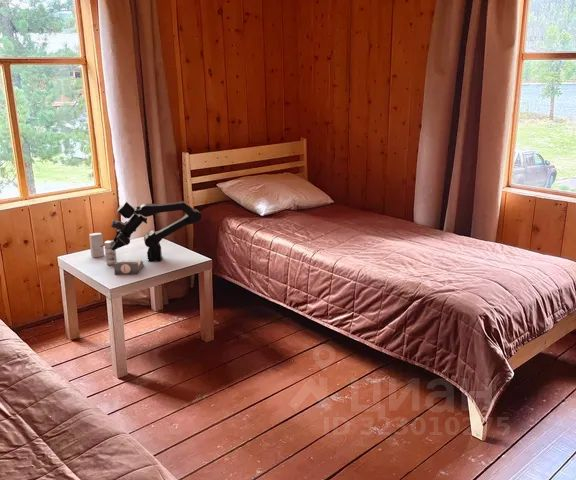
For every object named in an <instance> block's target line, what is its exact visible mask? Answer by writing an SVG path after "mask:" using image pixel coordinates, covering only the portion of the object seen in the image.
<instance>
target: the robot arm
mask: <svg viewBox="0 0 576 480" xmlns="http://www.w3.org/2000/svg"><path fill="white" fill-rule="evenodd" d="M175 211H176V212H177V211H182V212H183V213H185V214H184V216H182V217H181V218H179V219H178V220H176V221H174V222H172V223H171V224H169V225H167V226H165V227H163V228H160V230H158V231H155V230H154V229H152V230H151V231H148V232H146V234H145V235H144V237H143V241H144V244H145V246H146V247H147V252H146V253H147V254H146V257H147V259H148V260H147V262H161V261H162V259H163V253H162V246H161V243H160V242H161V241H162V240H163V239H164V238H166V237H168V236H169V235H171V234H173V233H175V232H176V231H180V229H183V228H184V227H186V226H188V225H193V224H196V223H199V222H200V221H201V219H202V214H201V212H200V211H199V210H198V209H196V208H193V207H192V206H190V205H188V204H187V203H186V202H185V201H183V200H181V201H176V202H168V203H167V202H165V203H158V204H156V203H146V202H145V203H141V205H138V206H132V205H131V204H130V203H129V202H128V201H124V203H122V205H120V206H119V207H118V208H117V211H116V212H117V213H118V214H119V215H121V216H122V217H123V218H124V219H128V220H127V221H124V222H122V221H120V220H118V219H112V222H111V227H112V228H113V229H115V236H114V238H113V239H112V240H113V241H115V244H114V246H113V248H112V250H115V249H116V250H117V249H120V248H122V247H124V246H129V244H130V243H131V237H132V234H133V233H134V232H136V231H137V229H138V228H139V227H140V226H141V224H143V223H144V224H146V225H147V224H148V218H149V217H151V216H155V215H156V214H159V213H169V212H175Z"/></svg>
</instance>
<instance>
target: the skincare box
mask: <svg viewBox="0 0 576 480" xmlns="http://www.w3.org/2000/svg"><path fill="white" fill-rule="evenodd" d="M88 236H89V247H90V248H89V249H90V256H91V257H92V258H98V257H103V256H105V246H104V239H103V234H102V233H101V232H94V233H88Z"/></svg>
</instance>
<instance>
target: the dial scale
mask: <svg viewBox="0 0 576 480" xmlns="http://www.w3.org/2000/svg"><path fill="white" fill-rule="evenodd" d="M143 267H144V261H142V259H127V260H126V259H122V260H120V261H117V262H115V263H114V266H113V271H114V275H115V276H118V275H119V276H120V275H121V276H122V275H125V276H126V275H138V274H139V273H140V272H141V270H142V269H143Z"/></svg>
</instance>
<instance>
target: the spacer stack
mask: <svg viewBox="0 0 576 480" xmlns="http://www.w3.org/2000/svg"><path fill="white" fill-rule="evenodd" d="M114 244H115V241H113V239H112V240H111V239H110V240H105V241H103V245H104V254H105V261H106V262H105V263H106V266H107V267H111V266H113V267H114V263H115V262H118V261H117V260H118V259H117V252H116V250H117V249H115V250H112V248H113V246H114Z"/></svg>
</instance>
